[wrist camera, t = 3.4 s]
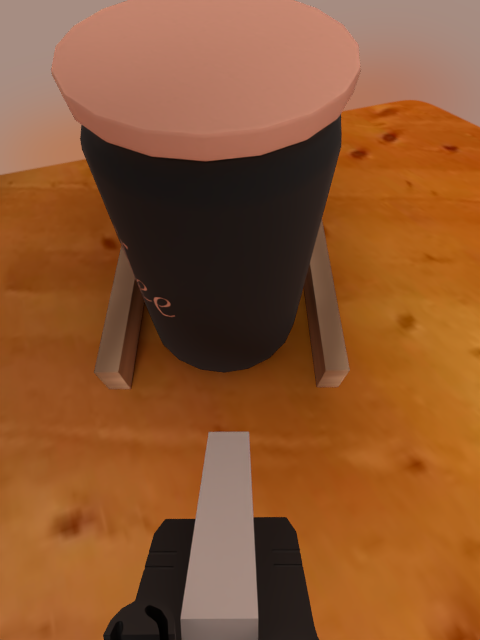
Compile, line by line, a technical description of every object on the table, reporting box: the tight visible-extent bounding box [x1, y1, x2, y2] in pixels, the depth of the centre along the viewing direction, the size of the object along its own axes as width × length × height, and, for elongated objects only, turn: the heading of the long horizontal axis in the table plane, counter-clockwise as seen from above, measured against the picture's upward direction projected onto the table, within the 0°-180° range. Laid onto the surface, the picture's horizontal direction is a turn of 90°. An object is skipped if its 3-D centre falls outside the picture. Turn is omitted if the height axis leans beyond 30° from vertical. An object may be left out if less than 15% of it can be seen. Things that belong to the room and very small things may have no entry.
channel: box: [94, 219, 350, 389], centre depth 26 cm, size 16×24×10 cm, turn 1°
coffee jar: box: [51, 0, 361, 372], centre depth 20 cm, size 11×11×18 cm
